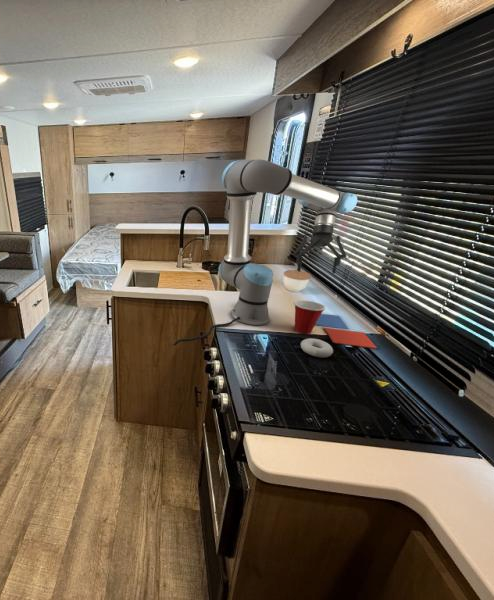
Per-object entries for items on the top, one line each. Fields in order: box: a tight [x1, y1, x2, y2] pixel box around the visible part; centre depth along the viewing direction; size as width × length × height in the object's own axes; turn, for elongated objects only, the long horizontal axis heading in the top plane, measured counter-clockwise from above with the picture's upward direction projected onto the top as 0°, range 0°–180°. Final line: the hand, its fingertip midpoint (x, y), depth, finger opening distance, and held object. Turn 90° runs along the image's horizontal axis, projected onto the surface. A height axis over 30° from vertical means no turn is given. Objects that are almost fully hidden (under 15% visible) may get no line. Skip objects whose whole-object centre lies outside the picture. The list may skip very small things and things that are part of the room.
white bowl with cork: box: [282, 269, 312, 293], centre depth 165 cm, size 13×13×11 cm
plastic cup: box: [293, 299, 326, 335], centre depth 123 cm, size 11×11×12 cm
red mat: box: [323, 327, 378, 350], centre depth 120 cm, size 12×14×1 cm
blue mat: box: [315, 313, 349, 330], centre depth 134 cm, size 12×14×1 cm
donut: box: [300, 338, 334, 359], centre depth 111 cm, size 10×4×10 cm
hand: (315, 271), depth 139 cm, fingers open, 13 cm apart
